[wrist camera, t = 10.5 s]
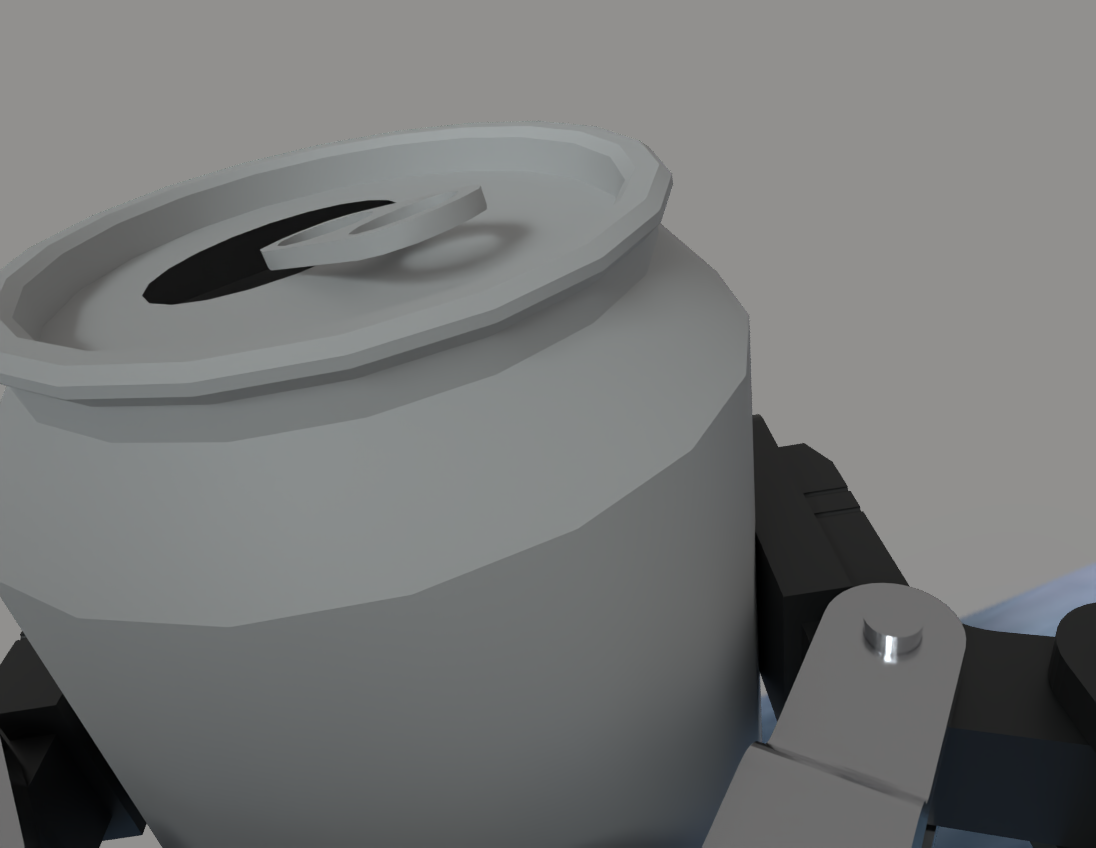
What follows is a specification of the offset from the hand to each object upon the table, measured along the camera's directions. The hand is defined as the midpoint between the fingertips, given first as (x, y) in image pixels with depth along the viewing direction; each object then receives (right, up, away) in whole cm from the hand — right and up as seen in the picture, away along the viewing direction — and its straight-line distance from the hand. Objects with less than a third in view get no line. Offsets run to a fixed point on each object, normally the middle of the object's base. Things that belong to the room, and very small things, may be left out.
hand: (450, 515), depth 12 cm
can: (+1, -7, +2) cm, 7 cm away
